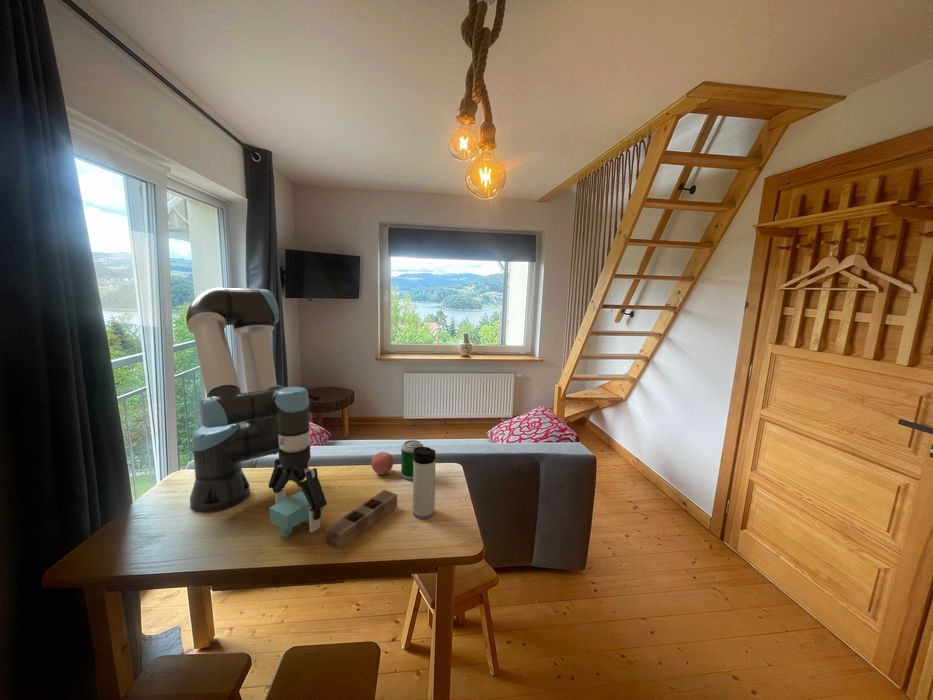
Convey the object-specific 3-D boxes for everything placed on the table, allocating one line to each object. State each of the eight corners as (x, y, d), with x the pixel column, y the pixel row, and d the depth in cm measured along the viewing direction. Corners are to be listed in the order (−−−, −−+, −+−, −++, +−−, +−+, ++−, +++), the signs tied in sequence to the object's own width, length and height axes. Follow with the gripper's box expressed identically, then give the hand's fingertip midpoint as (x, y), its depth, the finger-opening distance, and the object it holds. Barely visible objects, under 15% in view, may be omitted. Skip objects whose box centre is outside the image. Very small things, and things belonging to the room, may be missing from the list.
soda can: (418, 482, 127) (419, 449, 125) (397, 479, 128) (398, 446, 126) (425, 472, 134) (426, 440, 132) (405, 469, 136) (406, 438, 134)
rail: (326, 542, 96) (325, 528, 95) (384, 501, 115) (384, 489, 114) (340, 549, 93) (339, 535, 93) (396, 506, 112) (397, 494, 112)
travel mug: (407, 513, 110) (408, 448, 106) (424, 504, 114) (425, 442, 111) (421, 522, 105) (422, 455, 102) (438, 513, 110) (440, 448, 107)
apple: (367, 475, 130) (367, 453, 129) (379, 466, 137) (379, 445, 136) (385, 480, 128) (385, 458, 126) (397, 471, 134) (397, 449, 133)
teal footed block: (270, 533, 98) (269, 507, 97) (306, 512, 108) (305, 488, 107) (288, 543, 95) (286, 516, 94) (323, 520, 105) (322, 495, 104)
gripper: (251, 440, 101) (255, 513, 104) (315, 464, 89) (318, 545, 92) (277, 432, 107) (280, 500, 110) (340, 452, 95) (341, 528, 99)
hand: (297, 521), depth 101 cm, fingers open, 13 cm apart
